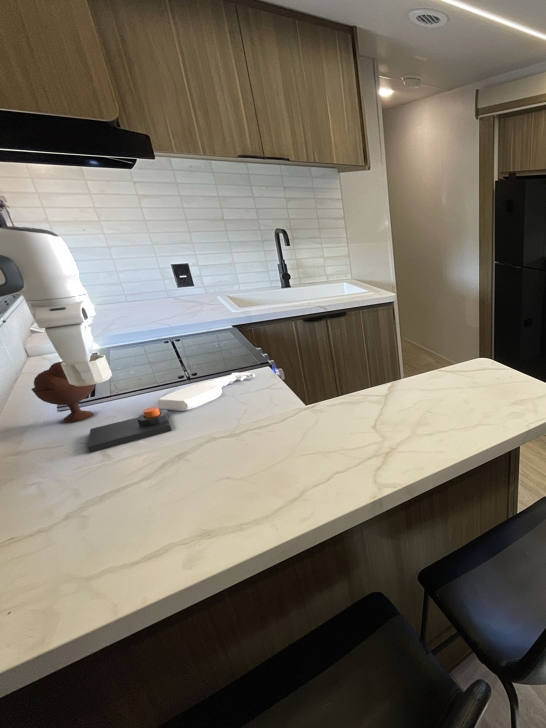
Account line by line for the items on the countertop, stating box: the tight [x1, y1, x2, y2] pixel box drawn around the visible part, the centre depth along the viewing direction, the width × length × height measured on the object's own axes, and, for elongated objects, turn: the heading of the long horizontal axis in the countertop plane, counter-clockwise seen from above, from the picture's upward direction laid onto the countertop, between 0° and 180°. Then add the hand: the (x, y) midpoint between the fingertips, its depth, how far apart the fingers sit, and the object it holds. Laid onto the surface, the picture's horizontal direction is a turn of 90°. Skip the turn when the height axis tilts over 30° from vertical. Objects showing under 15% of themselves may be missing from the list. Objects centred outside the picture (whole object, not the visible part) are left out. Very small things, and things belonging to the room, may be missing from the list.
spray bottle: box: [157, 372, 256, 412], centre depth 116 cm, size 3×11×24 cm
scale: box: [87, 409, 172, 453], centre depth 94 cm, size 14×11×3 cm
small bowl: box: [60, 354, 113, 386], centre depth 87 cm, size 7×7×5 cm
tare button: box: [142, 406, 160, 418], centre depth 96 cm, size 3×3×2 cm
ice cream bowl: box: [31, 360, 96, 424], centre depth 100 cm, size 11×11×15 cm
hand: (89, 373), depth 87 cm, fingers closed on small bowl, 7 cm apart
